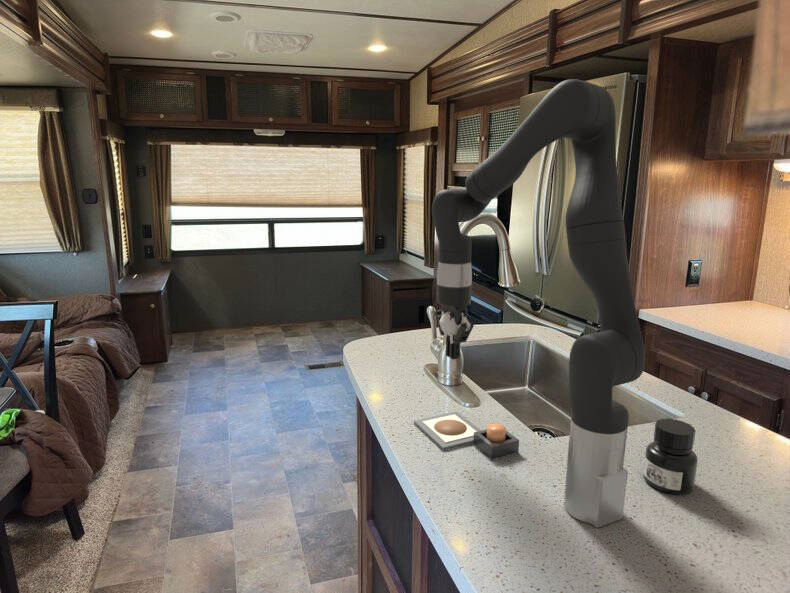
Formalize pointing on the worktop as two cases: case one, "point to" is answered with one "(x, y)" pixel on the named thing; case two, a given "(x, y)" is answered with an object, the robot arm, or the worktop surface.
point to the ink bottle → (671, 457)
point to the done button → (496, 433)
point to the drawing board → (448, 430)
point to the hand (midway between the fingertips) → (452, 357)
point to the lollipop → (449, 328)
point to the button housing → (496, 445)
